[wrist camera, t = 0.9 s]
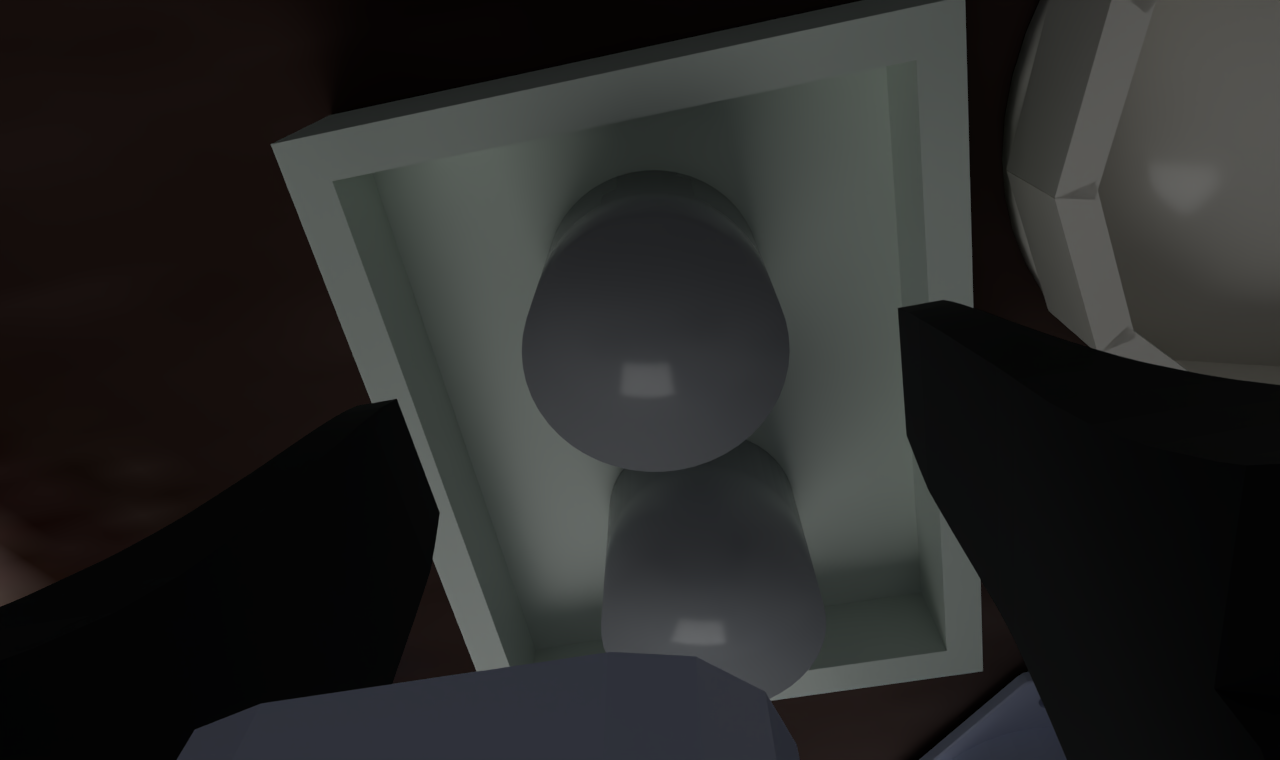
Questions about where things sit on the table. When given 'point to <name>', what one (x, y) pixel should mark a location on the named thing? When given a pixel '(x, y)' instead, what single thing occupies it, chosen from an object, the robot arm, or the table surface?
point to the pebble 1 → (655, 326)
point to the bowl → (1153, 178)
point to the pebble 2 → (713, 569)
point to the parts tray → (793, 256)
